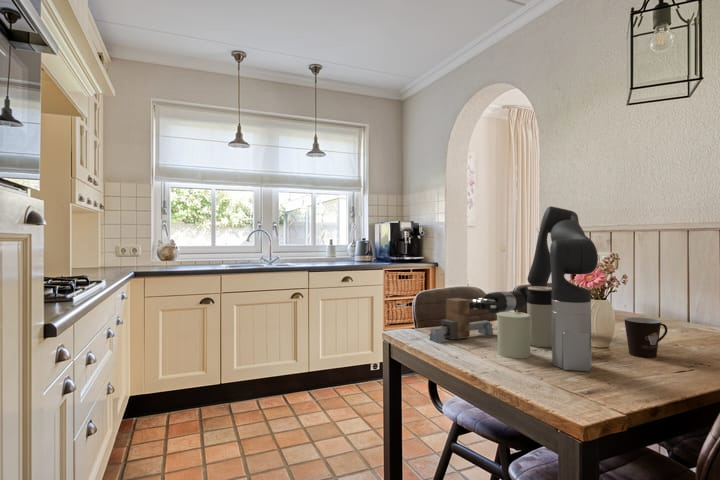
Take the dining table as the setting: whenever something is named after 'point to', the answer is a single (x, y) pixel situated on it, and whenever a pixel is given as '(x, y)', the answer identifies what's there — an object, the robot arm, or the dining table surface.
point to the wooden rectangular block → (459, 315)
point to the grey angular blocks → (440, 334)
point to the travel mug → (540, 316)
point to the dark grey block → (452, 328)
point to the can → (513, 334)
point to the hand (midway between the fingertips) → (463, 306)
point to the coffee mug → (643, 336)
